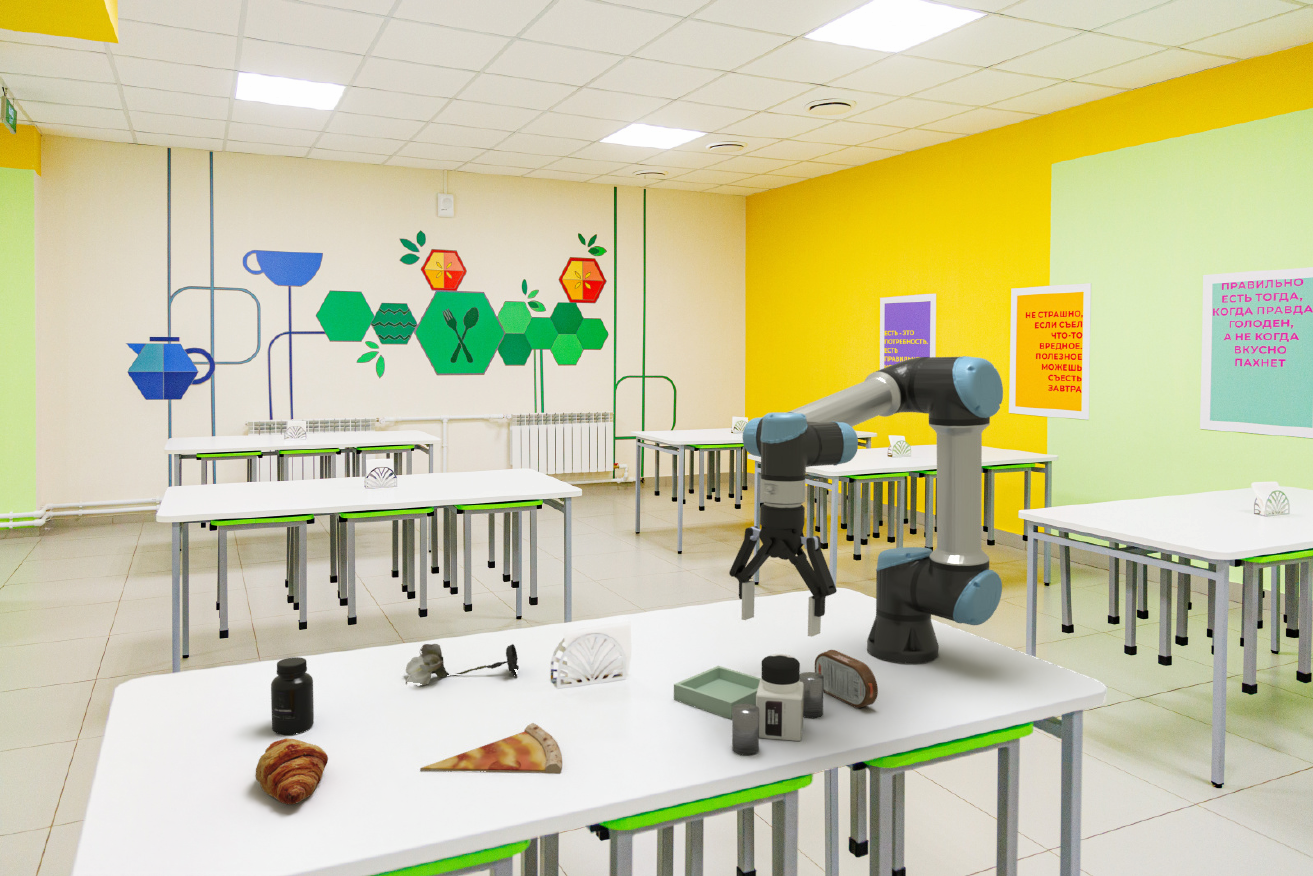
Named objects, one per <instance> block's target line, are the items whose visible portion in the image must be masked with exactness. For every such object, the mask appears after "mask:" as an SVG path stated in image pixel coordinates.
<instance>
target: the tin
mask: <svg viewBox="0 0 1313 876" xmlns="http://www.w3.org/2000/svg"><path fill="white" fill-rule="evenodd" d="M814 672H815V673H819V674H821V675H823V676H824V693H826V694H828V695H830V696H832V697H834V698H836V699H837V700H840V701H842V702H843V703H845V704H848V705H850V706H851V707H854V708H857V709H858V708H860V709H861V708H864V707H866V706H871V705H873V704H874V703H875V701H876V700H877V698H878V694H879V693H878V692H879V690H878V689H879V687H878V682H877V679H876V676H875V675H874V672H873V671H872V670H871V668H870V667H869V666H868V665H867V664H866V663H864V661H860V660H858V659H857V658H854V657H851V656H849V655H847V654H844V653H842V652H840V651H838V650H835V649H829V650H827V651H824V652H821V653H820V654H818V655H817V656H816V657H815V660H814Z"/></svg>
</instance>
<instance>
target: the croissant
mask: <svg viewBox="0 0 1313 876" xmlns="http://www.w3.org/2000/svg"><path fill="white" fill-rule="evenodd" d="M328 760H329V757H328V754H327V752H326V751H325V750H324V749H323V748H322V747H320V746H319V745H316V744H313V743H308V742H305V741H302V740H300V739H295V738H289V737H287V738H286V737H285V738H282V739H279V740H276V741H273V742H271V743H270V744H269V746H268V747H267V748H266V749H265V751H264V754H262V755H261V756H260V758H259V759H258V763H257V764H256V767H255V779H256V781H257V782H259V784H260V788H261V789H262V790H263V792H264V793H265V794H267V795H269V796H270V797H272V798H275V799H276V800H277V801H278V802H280V803H283V804H285V805H296V804H297V803H300V802H301V801H304V799H306V798H308V797H310V796H311V795H312V794H313V793H314V791H315V789H316V788H317V786H318V785H319V784H320V783H321V781H322V777H323V774H324V771H325V769H326V767H327V763H328Z"/></svg>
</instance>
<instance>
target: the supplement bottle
mask: <svg viewBox="0 0 1313 876" xmlns="http://www.w3.org/2000/svg"><path fill="white" fill-rule="evenodd" d="M307 665H308V664H307V659H306V658H303V657H295V656H294V657H287V658H284V659H281V660H278V661H277V663H276V675H277V676H275V677H274V678H273V679H272V681H271V684H270V700H271V701H270V702H271V706H270V707H271V729H272V731H273V732H274V733H275V734H277V735H280V734H281V735H280V736H293V734H294V735H297V734H296V733H299V734H301V733H300V732H302V733H305V732H307V731H309V730H310V729H311V728H312V727H313V725H314V720H315V719H314V717H315V715H314V713H315V712H314V706H315V705H314V679H313V676H312V675H311V674H309V673H308V667H307ZM308 729H309V730H308ZM306 730H307V731H306ZM304 731H305V732H304Z"/></svg>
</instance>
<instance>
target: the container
mask: <svg viewBox="0 0 1313 876" xmlns="http://www.w3.org/2000/svg"><path fill="white" fill-rule="evenodd" d="M800 664H801V663H800V661H799V659H797V658H796V657H793V656H791V655H787V654H784V653H783V654H780V653H778V654H777V653H775V654H770V655H767V656H765V657H764V658H763V659H762V660H761V672H760V673H761V677H760V678H761V680H760V682H759V686H758V690H757V694H756V706H757V707H758V708H759V739H767V740H768V739H769V740H781V741H793V742H801V741H802V739H803V738H802V737H803V729H804V728H803V727H804V717H803V694H804V684H803V682H800V674H801V673H800V672H801V670H800V669H801V665H800Z"/></svg>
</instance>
